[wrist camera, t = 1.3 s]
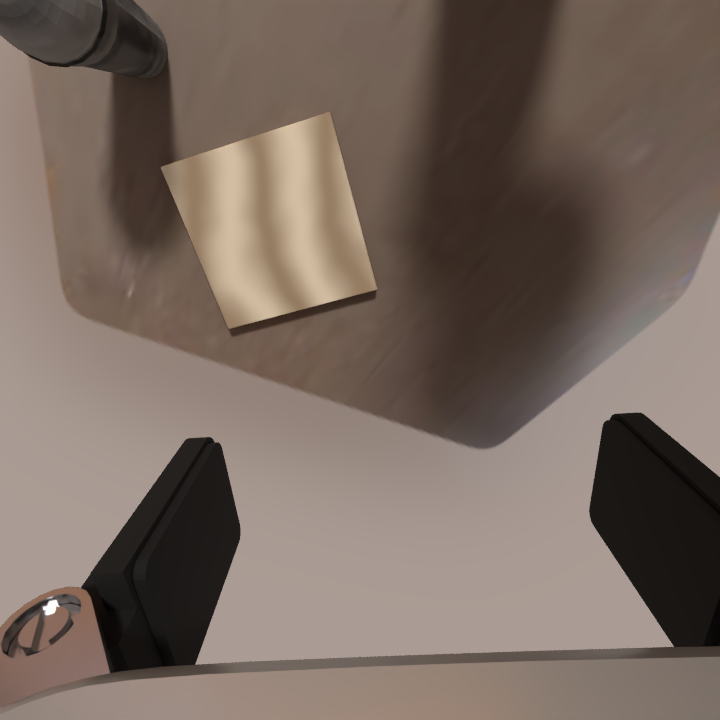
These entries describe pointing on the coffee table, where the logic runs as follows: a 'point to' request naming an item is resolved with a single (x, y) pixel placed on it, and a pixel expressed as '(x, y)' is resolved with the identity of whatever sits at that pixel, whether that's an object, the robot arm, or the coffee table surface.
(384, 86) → the coffee table surface
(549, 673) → the robot arm
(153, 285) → the coffee table surface
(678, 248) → the coffee table surface
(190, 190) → the birch board
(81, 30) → the beverage cup
